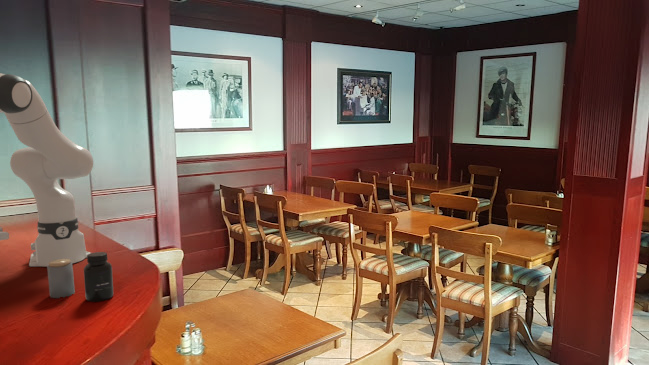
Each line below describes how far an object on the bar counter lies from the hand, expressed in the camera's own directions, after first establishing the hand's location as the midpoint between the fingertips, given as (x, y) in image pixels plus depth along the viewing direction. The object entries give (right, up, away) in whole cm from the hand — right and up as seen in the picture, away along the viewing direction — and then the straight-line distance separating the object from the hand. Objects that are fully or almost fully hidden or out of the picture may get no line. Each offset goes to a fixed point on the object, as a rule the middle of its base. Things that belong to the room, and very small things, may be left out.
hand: (5, 232), depth 122 cm
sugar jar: (+9, -18, +10) cm, 23 cm away
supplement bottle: (+21, -18, +7) cm, 29 cm away
